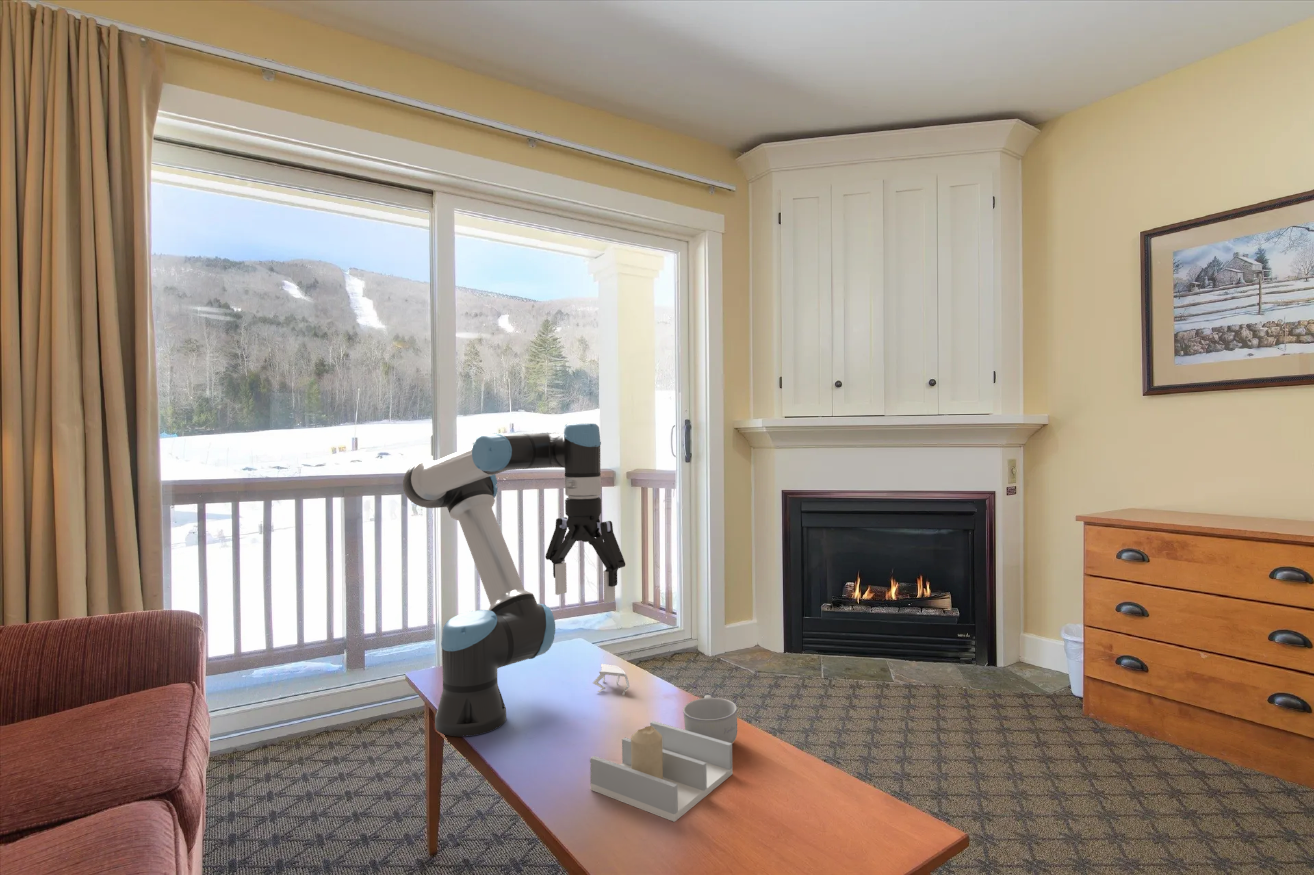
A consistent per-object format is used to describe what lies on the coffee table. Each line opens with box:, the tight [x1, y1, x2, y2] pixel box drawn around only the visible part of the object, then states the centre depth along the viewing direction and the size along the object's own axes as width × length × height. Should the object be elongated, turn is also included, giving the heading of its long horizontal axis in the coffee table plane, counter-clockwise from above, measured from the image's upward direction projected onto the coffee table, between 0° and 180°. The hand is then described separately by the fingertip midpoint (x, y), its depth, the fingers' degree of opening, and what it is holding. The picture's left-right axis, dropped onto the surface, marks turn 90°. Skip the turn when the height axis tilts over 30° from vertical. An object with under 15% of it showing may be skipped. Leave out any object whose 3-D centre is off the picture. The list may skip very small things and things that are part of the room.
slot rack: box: [589, 720, 733, 823], centre depth 126 cm, size 18×19×6 cm
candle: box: [630, 725, 663, 779], centre depth 123 cm, size 6×6×10 cm
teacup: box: [682, 694, 738, 744], centre depth 142 cm, size 14×11×8 cm
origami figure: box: [592, 663, 630, 696], centre depth 172 cm, size 12×8×5 cm
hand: (584, 597), depth 147 cm, fingers open, 13 cm apart
